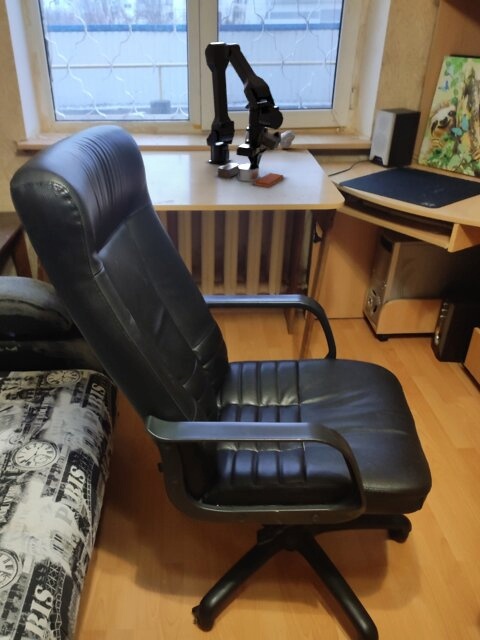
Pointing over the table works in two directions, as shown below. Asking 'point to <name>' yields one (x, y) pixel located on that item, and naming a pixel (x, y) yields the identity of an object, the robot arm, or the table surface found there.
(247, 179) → the silver pot
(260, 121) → the robot arm
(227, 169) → the walnut block
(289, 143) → the frog figurine
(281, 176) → the terracotta tray
